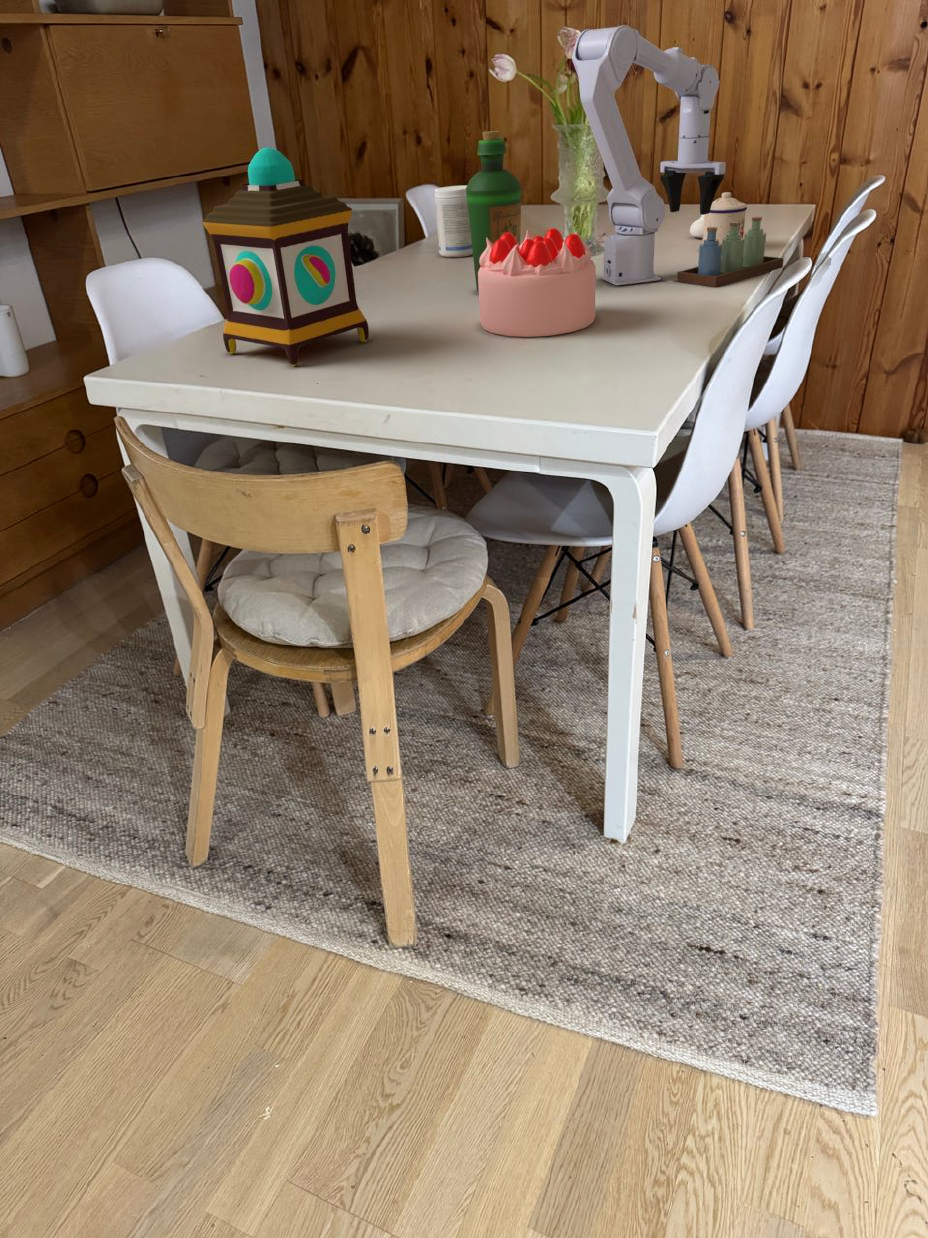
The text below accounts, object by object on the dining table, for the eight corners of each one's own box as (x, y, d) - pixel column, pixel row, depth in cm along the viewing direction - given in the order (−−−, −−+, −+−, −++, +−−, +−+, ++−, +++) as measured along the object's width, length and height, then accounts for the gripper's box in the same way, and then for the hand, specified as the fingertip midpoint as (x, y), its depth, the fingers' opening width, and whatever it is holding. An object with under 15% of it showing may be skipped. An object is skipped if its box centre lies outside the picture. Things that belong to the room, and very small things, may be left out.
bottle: (520, 296, 174) (515, 131, 160) (466, 297, 176) (456, 135, 162) (528, 284, 183) (524, 127, 168) (476, 285, 185) (468, 131, 171)
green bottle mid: (733, 274, 176) (737, 224, 171) (715, 271, 179) (719, 222, 174) (746, 270, 178) (750, 221, 173) (728, 268, 181) (732, 219, 176)
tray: (715, 286, 170) (716, 276, 169) (676, 281, 176) (677, 271, 175) (782, 267, 181) (783, 257, 180) (744, 262, 187) (744, 253, 186)
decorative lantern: (303, 327, 163) (274, 141, 148) (382, 340, 152) (360, 139, 136) (214, 355, 151) (172, 154, 135) (292, 371, 139) (257, 153, 124)
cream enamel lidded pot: (737, 254, 196) (742, 195, 190) (696, 253, 200) (699, 195, 194) (750, 244, 205) (756, 187, 199) (710, 243, 209) (714, 188, 202)
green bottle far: (754, 268, 180) (759, 219, 175) (737, 265, 182) (741, 217, 178) (767, 264, 182) (772, 216, 177) (749, 262, 185) (754, 214, 180)
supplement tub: (486, 252, 217) (483, 185, 210) (458, 259, 212) (453, 190, 204) (459, 249, 224) (455, 184, 216) (430, 256, 218) (425, 189, 211)
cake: (464, 320, 160) (458, 234, 153) (565, 304, 166) (565, 220, 158) (507, 344, 145) (503, 250, 137) (618, 326, 150) (620, 234, 143)
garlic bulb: (684, 237, 218) (686, 201, 213) (705, 234, 220) (707, 198, 215) (700, 240, 213) (702, 203, 208) (722, 237, 215) (724, 200, 210)
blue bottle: (710, 280, 172) (714, 229, 168) (692, 278, 175) (696, 228, 170) (724, 276, 174) (728, 226, 170) (706, 274, 177) (710, 225, 173)
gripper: (737, 134, 172) (731, 211, 179) (677, 134, 182) (674, 207, 189) (714, 138, 169) (709, 217, 176) (654, 138, 179) (651, 212, 186)
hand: (689, 212), depth 182 cm, fingers open, 7 cm apart
